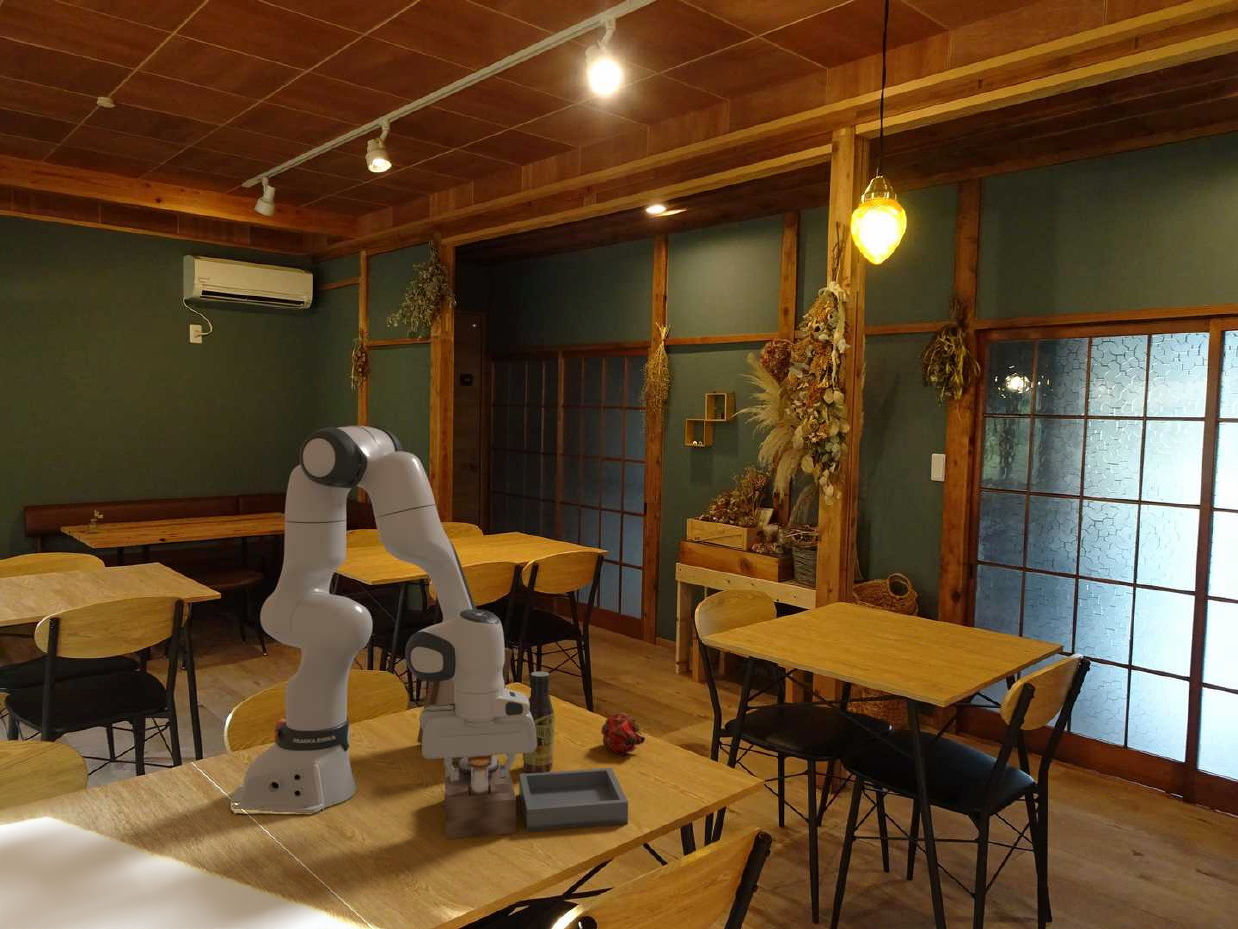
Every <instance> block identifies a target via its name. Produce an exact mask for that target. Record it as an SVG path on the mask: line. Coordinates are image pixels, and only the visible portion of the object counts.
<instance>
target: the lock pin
mask: <svg viewBox="0 0 1238 929" xmlns="http://www.w3.org/2000/svg"><path fill="white" fill-rule="evenodd" d="M492 756H493V755H489V756H473V757H467V765H468V766H470V767H471V796H473V795H486V794H488V766H489V765H491V764H492Z"/></svg>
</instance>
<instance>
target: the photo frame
mask: <svg viewBox="0 0 1238 929" xmlns="http://www.w3.org/2000/svg"><path fill="white" fill-rule="evenodd" d="M504 651H505V661H504V665H503V670H502V675H503V679H504V684H505V685H504V686H505V688H506V685H507V680H508V676H509V671H510V666H511V660H512V657H513V651H514V650H513V649H510V648H507V647H504ZM427 686H428V688H427V691H426V697H425V700H424V705H423V709H425V708H427V707H428V706H429V705H444V704H454V682H453V681H452V680H444V681H432V682H428V685H427ZM426 711H428V710H426ZM423 731H424V730H423V729H422V728H421V727H420V726H419V730H418V734H417V739H416V742H417V743H419V744H421V745H422V738H423ZM462 758H464V757H457V758H452V762H455V763H456V764H458V762H459V761H460V760H461V759H462Z"/></svg>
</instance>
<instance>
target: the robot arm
mask: <svg viewBox="0 0 1238 929" xmlns="http://www.w3.org/2000/svg"><path fill="white" fill-rule="evenodd" d="M299 463H300V464H298V465H297V466H296V467H294V468H293V470H292V471H291V473H290V476H289V478H288V479H289V481H288V484H287V490H286V497H285V507H284V551H283V553H284V556H283V564H282V568H281V573H280V576H279V579H278V582H277V585H276V587H275V589H274V591H273V592H272V593H271V594H270V595H269V596H268V597H267V598H266V600H265V601H264V602H263V605H262V607H261V609H260V615H259V616H260V617H259V618H260V624H261V627H262V629H263V630H264V632H265V633H266V634H267V635H268V636H270V637H272V638H273V639H274V640H276V641H277V642H279V643H281V644H283V645H286V646H290V647H294V648H298V649H300V650H301V658H300V659H301V660H300V663H299V666H298V669H297V671H296V672H295V673H294V674H293V675H292V676H291V677H290V678H289V679H288V681H287V682H286V685H285V718H279V719H278V720H277V722H276V724H275V727H274V728H275V730H274V742H275V743H274V744H272V745H271V746H269V748H268V749H266V750H265V751H264V752H262V753H261V754H260V755H258V756H257V757H256V758H254V760H253V761H252V762H251V763H249V764H250V765H249V766H248V768H247V769H246V772H245V775H244V779H243V782H242V784H241V785H239V787H238V786H237V788H236V789H235V790H234V792H233V793H232V795H231V797H230V800H231V801H230V802H229V804H230V803H240V804H238V805H232V807H233V808H234V809H243V810H246V809H247V810H252V809H253V810H260V811H268V812H269V811H273V812H295V813H306V814H307V813H315V812H317V811H319V810H321V809H323V810H324V808H325V807H327V806H329V805H332V806H334V805H333V804H335V805H338V804H340V803H342V802H345V801H347V800H348V799H350V798H352V797H353V796H354V795H355V793H356V792H357V785H356V782H355V780H354V775H353V772H352V771H353V770H352V766H351V760H350V753H349V752H350V751H349V749H350V748H349V747H350V745H351V725H350V718H349V717H348V716H347V715H348V714H347V713H348V709H347V708H348V701H347V700H348V681H349V676H350V671H351V667H352V665H353V662H354V659H355V657H356V655H358V653H360V652H361V651H362V650H363V649H364V648H365V647H366V646H367V644H368V643H369V641H370V639H371V636H372V633H373V618H372V616H371V613H370V611H369V610H368V608H367V607H366V606H364V605H362V604H360V603H359V602H357V601H355V600H353V599H351V598H350V597H347V596H341V595H336V594H332V593H330V588H331V586H330V585H331V581H332V578H333V575H334V573H335V571H336V570H337V569H339V568H340V567H341V566H342V565H343V564H344V563H345V561H346V558H347V499H348V496H349V492H350V491H351V490H352V489H354V488H355V487H359V488H362V489H363V490H364V491H365V492H366V493H367V495H368V496H369V499H370V502H371V505H372V510H373V515H374V518H375V520H374V521H375V524H376V529H377V534H378V537H379V540H380V542H381V544H382V546H383V548H384V550H386V552H387V553H388V554H389V555H391V556H392V557H394V558H396V559H397V560H399V561H402V562H404V563H408V564H411V565H415V566H416V567H419V568H420V569H421V570H423V571H424V572H425V573H426V574H427V576H428V577H429V579H430V581H431V583H432V585H433V590H434V592H435V595H436V598H437V600H438V604H439V606H440V610H441V612H442V622H440V623H436V624H433V625H430V626H427V627H425V628H423V629H420V630H419V631H417V632H415V633H413V634H412V635H411V636H409V639H408V641H407V642H406V646H405V651H404V652H405V653H404V654H405V656H404V657H405V662H406V665H407V668H408V669H409V671H410V672H411V674H412V675H413V676H414V677H415V678H417V679H418V680H420V681H422V682H426V683H427V682H428V683H429V682H432V681H444V680H452V681H453V682H454V704H444V705H429V706H428V707H427V708H425V709H424V708H423V709H422V710H421V711H420V714H419V728H420V727H421V728H422V729H423V730H424V731H423V738H422V744H421V755H422V756H423V758H424V759H426V760H440V759H443V762H444V763H443V764H444V766H445V769H448V771H449V772H450V781H451V782H455V781H459V768H458V769H454V768H455V767H454V766H453V765H452V763H453V760H452V758H457V757H473V756H489V755H492V756H499V755H500V756H502V755H506V756H505V757H506V759H507V760H506V762H505V763H504V764H501V765H502V766H500V778H509V769H510V770H511V767H512V766H513V764H514V762H515V761H516V760H515V759H516V754H517V755H518V754H519V755H520V754H523V753H532V752H533V751H534V750H535V749H536V747H537V740H536V731H535V725H534V721H533V717H532V715H531V712H530V711H529V708H530V704H529V700H528V699H529V698H528V696H527V694H525V693H524V692H521V691H517V690H513V689H508V688H506V687H505V686H504V685H505V684H504V679H503V675H502V670H503V665H504V661H505V651H504V648H505V637H504V636H505V635H504V630H503V625H502V622H501V620H500V618H499V617H498V616H497V615H496V614H494V613H493V612H490V611H488V610H485V609H477V607H476V604H475V603H474V599H473V596H472V593H471V591H470V587H469V585H468V581H467V579H466V575H465V572H464V569H463V566H462V564H461V561H460V559H459V558H460V557H459V556H458V554H457V551H456V549H455V546H454V544H453V543H452V541H451V540H450V538H449V537H448V535H447V533H446V532H445V529H444V526H443V524H442V522H441V519H440V517H439V516H440V515H439V513H438V510H437V508H438V507H437V505H436V501H435V497H434V493H433V489H432V487H431V484H430V481H429V479H428V476H427V473H426V471H425V469H424V466H423V464H422V462H421V460H420V458H419V457H418V456H416V455H415V454H414V453H411V452H407V451H403V448H402V444H401V441H400V440H399V439H398V437H397V436H396V435H394V434H393V433H392V432H391V431H389V430H387V429H384V428H381V427H378V426H365V425H348V426H340V427H333V426H331V427H325V428H322V429H319V430H316V431H314V432H313V433H310V434H309V435H308V436H307V437H306V438H305V439H304V441H303V442H302V445H301V446H300V449H299ZM426 710H428V711H426ZM337 803H338V804H337ZM249 807H250V808H249ZM329 807H330V806H329ZM327 808H328V807H327ZM325 809H326V808H325ZM315 814H316V813H315Z"/></svg>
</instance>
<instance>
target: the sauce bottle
mask: <svg viewBox="0 0 1238 929" xmlns="http://www.w3.org/2000/svg"><path fill="white" fill-rule="evenodd" d="M529 678H530V679H529V681H530V696H529V698H528V700H529V704H530V708H529V711H530V712H531V715H532V717H533V721H534V725H535V731H536V740H537V747H536V749H535V750H534V751H533V752H532V753H522V761H523V766H522V767H523V770H524V771H526V772H527V773H542V772H550V770H552V768H553V763H554V743H555V740H554V739H555V738H554V736H555V712H554V708H553V704H552V701H551V698H550V681H551V675H550V673H549V672H547V671H533V672H531V673H530V676H529Z"/></svg>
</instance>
